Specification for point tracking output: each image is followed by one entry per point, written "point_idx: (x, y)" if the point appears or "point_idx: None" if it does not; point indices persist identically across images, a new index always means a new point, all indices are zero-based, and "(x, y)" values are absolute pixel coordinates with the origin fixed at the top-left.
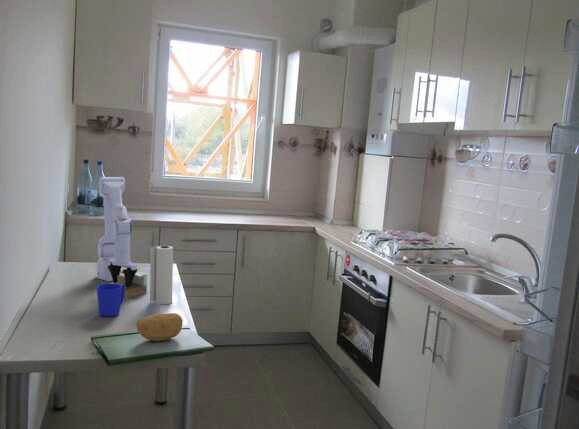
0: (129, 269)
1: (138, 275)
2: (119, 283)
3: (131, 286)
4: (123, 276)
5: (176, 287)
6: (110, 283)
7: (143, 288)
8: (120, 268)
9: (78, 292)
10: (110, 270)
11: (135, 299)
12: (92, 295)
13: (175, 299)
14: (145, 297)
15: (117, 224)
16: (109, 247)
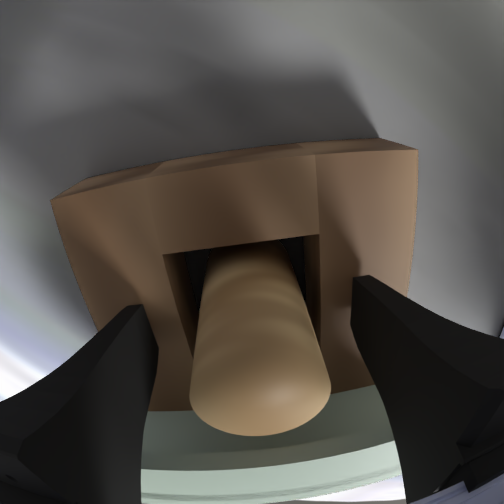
0: (18, 492)
1: None
2: (228, 290)
3: (169, 354)
4: (209, 395)
5: None
6: (405, 254)
7: None
8: (404, 463)
9: (481, 24)
10: (475, 348)
11: (37, 261)
12: (355, 26)
13: (3, 392)
14: (58, 330)
15: None
16: None
